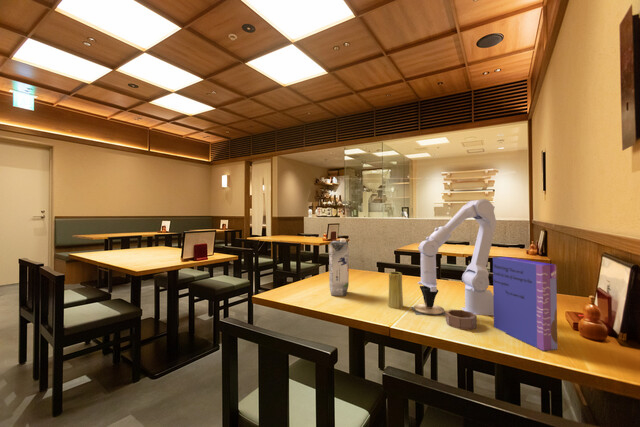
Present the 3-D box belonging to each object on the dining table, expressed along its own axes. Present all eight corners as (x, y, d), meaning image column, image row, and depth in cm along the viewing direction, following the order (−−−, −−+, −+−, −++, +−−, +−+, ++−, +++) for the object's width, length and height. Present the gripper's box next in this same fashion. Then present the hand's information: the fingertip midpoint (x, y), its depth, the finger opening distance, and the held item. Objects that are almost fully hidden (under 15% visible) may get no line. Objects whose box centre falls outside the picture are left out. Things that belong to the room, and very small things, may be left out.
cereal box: (557, 349, 82) (556, 264, 82) (543, 351, 81) (542, 264, 81) (505, 327, 99) (504, 256, 99) (493, 328, 98) (492, 256, 98)
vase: (403, 310, 117) (403, 274, 118) (388, 309, 119) (388, 274, 119) (402, 305, 123) (402, 271, 124) (387, 304, 125) (387, 271, 125)
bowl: (469, 321, 104) (469, 310, 104) (480, 331, 95) (480, 318, 95) (443, 320, 105) (443, 309, 105) (451, 330, 96) (451, 318, 96)
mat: (440, 308, 119) (440, 307, 119) (448, 316, 109) (448, 315, 109) (410, 307, 120) (410, 306, 120) (416, 315, 110) (416, 314, 110)
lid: (439, 305, 120) (438, 291, 120) (448, 314, 109) (447, 299, 109) (411, 305, 121) (411, 291, 121) (417, 313, 110) (417, 298, 110)
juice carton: (328, 296, 139) (328, 239, 139) (331, 290, 149) (331, 237, 150) (347, 296, 137) (347, 239, 138) (349, 291, 148) (348, 238, 148)
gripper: (413, 267, 123) (414, 300, 122) (422, 274, 108) (423, 311, 108) (431, 267, 122) (431, 300, 122) (442, 274, 108) (442, 311, 107)
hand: (428, 305), depth 115 cm, fingers closed on lid, 2 cm apart
